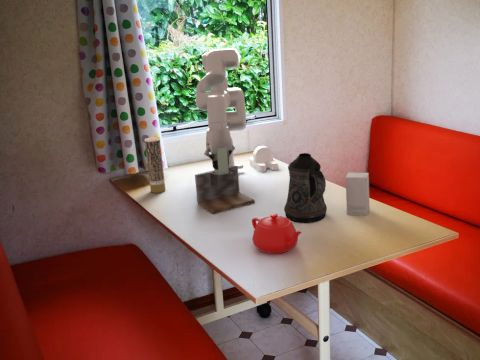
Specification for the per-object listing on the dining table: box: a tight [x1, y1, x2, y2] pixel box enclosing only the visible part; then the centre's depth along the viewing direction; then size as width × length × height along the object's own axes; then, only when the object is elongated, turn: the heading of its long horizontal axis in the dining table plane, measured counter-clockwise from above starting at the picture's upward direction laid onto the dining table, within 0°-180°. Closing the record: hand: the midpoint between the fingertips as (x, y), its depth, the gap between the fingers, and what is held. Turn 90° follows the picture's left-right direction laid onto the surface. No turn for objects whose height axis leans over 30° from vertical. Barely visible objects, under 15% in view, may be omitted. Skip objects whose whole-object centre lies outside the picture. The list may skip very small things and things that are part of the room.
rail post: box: [213, 146, 229, 176], centre depth 232 cm, size 4×4×16 cm
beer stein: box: [283, 152, 328, 224], centre depth 213 cm, size 16×19×25 cm
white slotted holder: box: [248, 145, 279, 173], centre depth 284 cm, size 10×18×11 cm, turn 18°
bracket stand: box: [194, 164, 256, 215], centre depth 234 cm, size 20×14×14 cm
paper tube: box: [144, 136, 166, 194], centre depth 255 cm, size 7×7×25 cm
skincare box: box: [345, 171, 370, 216], centre depth 215 cm, size 8×7×16 cm
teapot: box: [251, 213, 303, 255], centre depth 189 cm, size 25×16×12 cm, turn 38°
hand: (221, 167), depth 233 cm, fingers closed on rail post, 4 cm apart
